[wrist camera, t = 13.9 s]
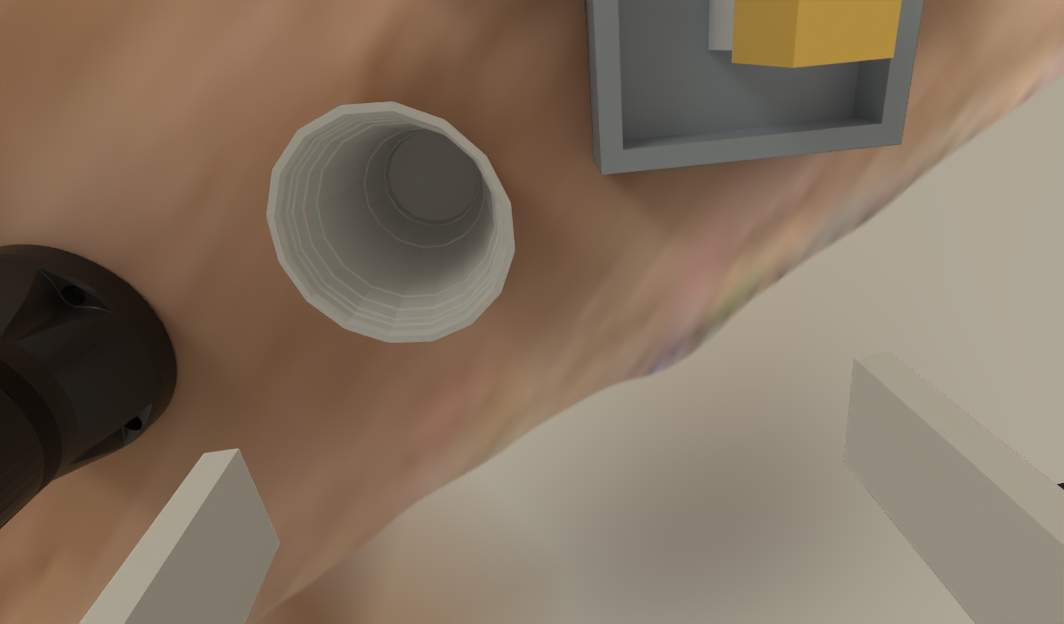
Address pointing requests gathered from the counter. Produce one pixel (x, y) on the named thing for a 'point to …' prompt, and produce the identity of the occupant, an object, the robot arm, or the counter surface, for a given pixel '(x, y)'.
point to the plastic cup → (390, 222)
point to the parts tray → (728, 92)
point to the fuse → (804, 30)
